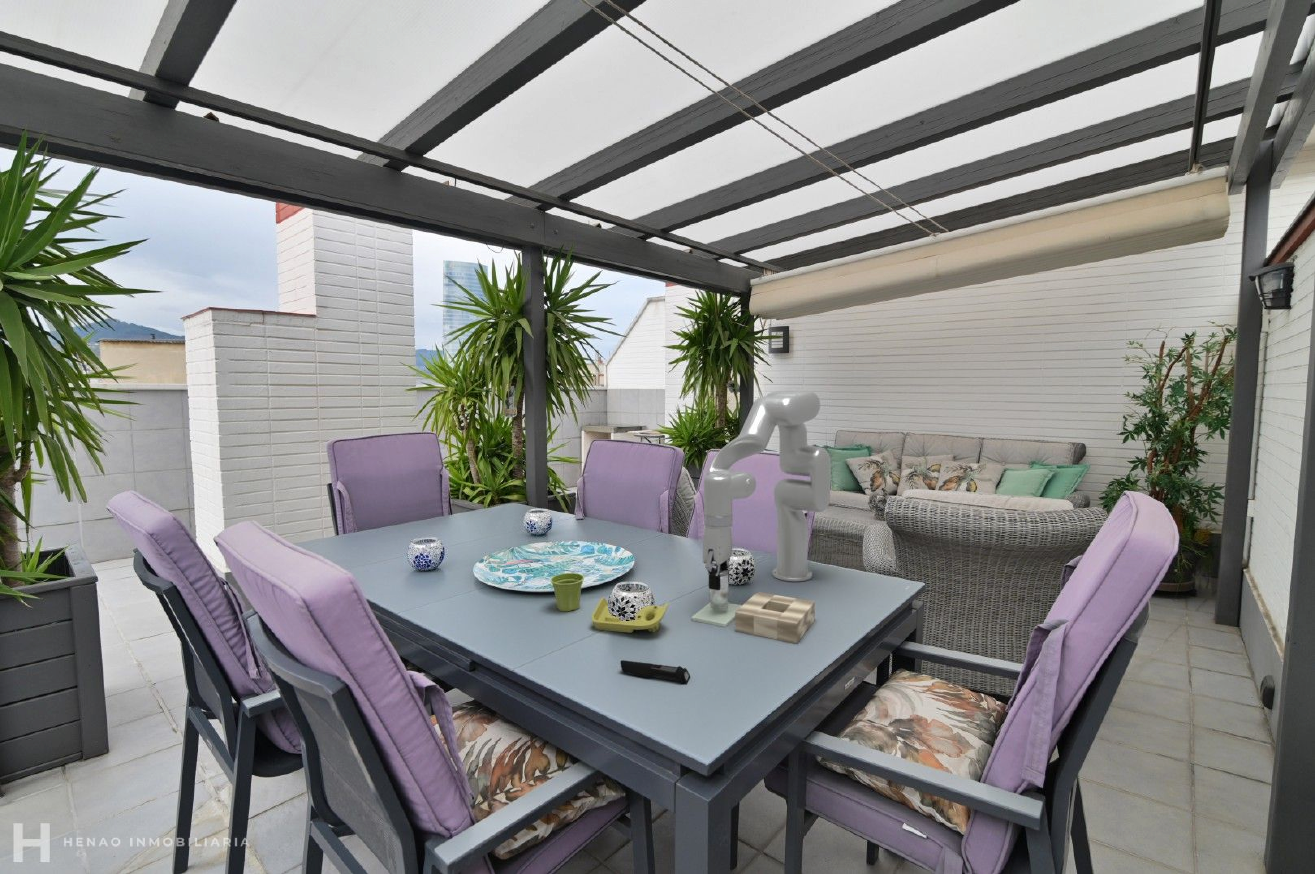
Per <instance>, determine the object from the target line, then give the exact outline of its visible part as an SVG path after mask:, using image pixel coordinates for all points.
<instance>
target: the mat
mask: <svg viewBox="0 0 1315 874" xmlns="http://www.w3.org/2000/svg"><path fill="white" fill-rule="evenodd" d="M742 605H743V604H736V603H731V602H729V607H728V608H727V609H725V610H715V609H712V608H711V607H710V602H709V603H707V604H706V605H705V606H704V607H702V608H701V609H700V610H699V611H698V612H696V613H695V614H693V615H692V616H691V617H690V619H691V621H693V622H699V623H703V624H707V625H713V626H717V627H722V628H727V627H728V626H729V625H730V624H731V623H732V622H733V621H735V612H736V611H737V610H738V609H739V608H740V607H741V606H742Z"/></svg>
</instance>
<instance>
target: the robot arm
mask: <svg viewBox="0 0 1315 874" xmlns="http://www.w3.org/2000/svg"><path fill="white" fill-rule="evenodd" d="M820 408H821V401H820V397H819V396H818V395H817V394H816V393H815V392H814V391H807V390H801V391H799V390H796V391H793V390H791V391H790V390H780V391H779V390H778V391H771V392H769V393H768V394H767V395H766V396H761V397H758V398H756V400H754V402H753V404H752V406H751V408H750V411H749V413H748V415H747V417H746V419H745V422H744V424H743V426H742V428H741V430H740V433H739V435H738V436H737V437H735V438H734V439H732V440H731V441H730V442H728V443H727V444H726V445H725V446H723V447H722V448H721V449H720V450H719V451H718V452H717V453H716V454H715V456H714V458H712V461H711V463H710V465H709V466H708V467H709V468H708V470H707V472H706V475H705V477H704V479H703V505H704V507H703V508H704V510H703V511H704V513H703V514H704V516H703V517H704V532H703V538H702V539H703V541H702V542H703V543H702V563H704V564H705V570H707V575H708V589H709V590H710V589H713V590H720V589H721V583H720V575H719V570H720V568H724V569H727V570H728V584H729V583H730V567H731V566H730V561H731V558H732V555H733V534H732V533H733V532H732V527H733V500H738V499H739V500H741V499H747V498H749V497H751V496H752V495H753V494H754V492H755V491H756V488H757V481H756V478H755V477H754V476H753V475H752V474H751V473H750V472H747V471H743V470H735V469H730V468H731V467H732V466H733V465H734V464H736V463H738V462H739V461H741V460H744V459H745V458H749V457H752V456H755V455H757V454H759V453H761V452H763V451H765V450H766V448H767V447H768V444H769V442H770V440H771V437H772V435H773V433H774V431H775V428H776V427H777V428H778V433H779V434H778V435H779V457H778V458H779V461H778V462H779V468H780V471H781V472H783V473H784V474H787V475H792V476H802V477H809V478H810V480H808V479H807V480H805V479H798V478H783V479H780V480H778V481H777V483H776V484H775V486H774V489H773V496H774V503H775V508H776V509H775V510H776V518H777V519H776V520H777V521H776V522H777V524H776V525H777V526H776V528H777V530H776V532H777V533H776V534H777V535H776V540H777V541H776V545H777V546H776V547H777V548H776V551H777V553H776V554H777V555H776V565H777V566H776V567H775V568H773V570H772V572H771V573H772V576H773V577H774V578H776V579H778V580H780V581H785V582H795V583H797V582H805V581H808V580H810V579H812V578H813V572H812V570H810V569H808V531H809V530H808V528H809V527H808V526H809V525H808V520H807V517H806V515H805V513H804V511H805V512H813V513H823V512H825V511H826V510H827V509H828V507H829V504H830V500H831V478H832V477H831V475H832V474H831V473H832V472H831V471H832V470H831V469H832V465H831V457H830V453H829V452H828V450H826V449H825V448H824V447H821V446H816V445H814V446H813V445H808V429H807V428H806V427H807V426H806V424H805V423H807V422H809V421H812V420H813V419H816V417H817V415H818V414H819V413H820ZM714 562H715V563H714ZM715 568H716V570H715Z"/></svg>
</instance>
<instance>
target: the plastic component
mask: <svg viewBox="0 0 1315 874" xmlns="http://www.w3.org/2000/svg"><path fill="white" fill-rule="evenodd" d="M608 604H609V602H608V601H607V598H605V597H604V598H603V597H602V598H600V600H599V601H598V603H597V605H596V607H595V609H594V611H593V613H592V614H591V620H592V623H593V624H594V627H595V629H597V630H601V631H609V632H616V633H617V632H621V633H627V634H628V633H629V634H630V633H633V632H634V630H636V631H638V630H640V631H641V630H648V632H652V633H655V631H658V630H659V627H661V625H660V623H661V621H662V620H663V619H664V617H665V614H666V611H667V609H668V606H669V604H670V602H666V603H665V604H664V606H661V605H660V606H659V605H647V606H644V607H642V608H640V609H641V610H640V611H639V612H638V613H637V615H636V618H635V620H632V621H620V620H619V618H618V617H615V616H611V614H610V613H609V611H608Z"/></svg>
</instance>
